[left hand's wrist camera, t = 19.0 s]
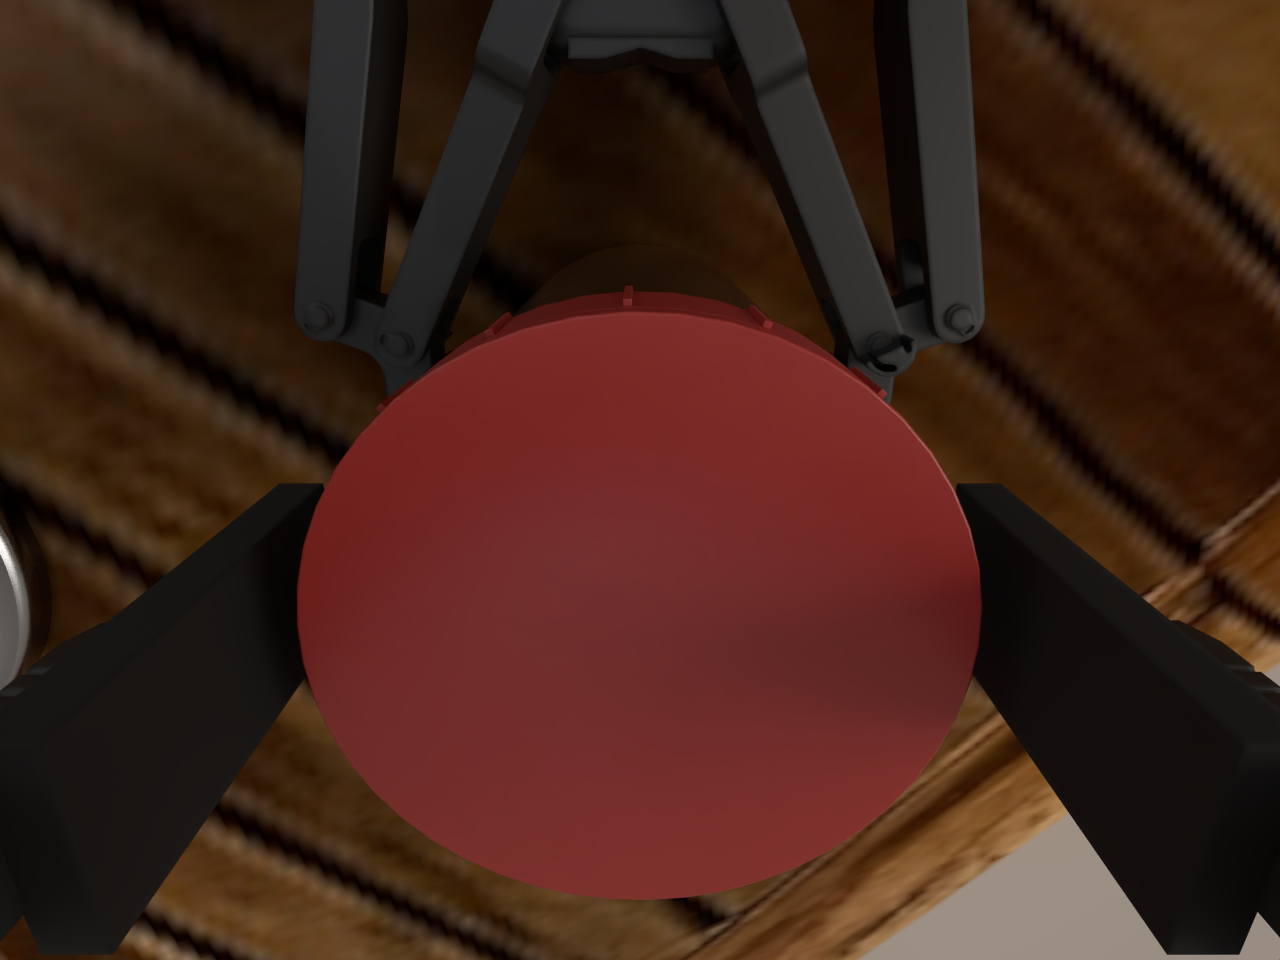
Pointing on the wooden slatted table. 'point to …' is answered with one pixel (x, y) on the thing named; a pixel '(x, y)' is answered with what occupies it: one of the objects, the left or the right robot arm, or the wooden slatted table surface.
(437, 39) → the wooden slatted table surface
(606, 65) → the right robot arm
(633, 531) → the lid
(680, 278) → the jar
